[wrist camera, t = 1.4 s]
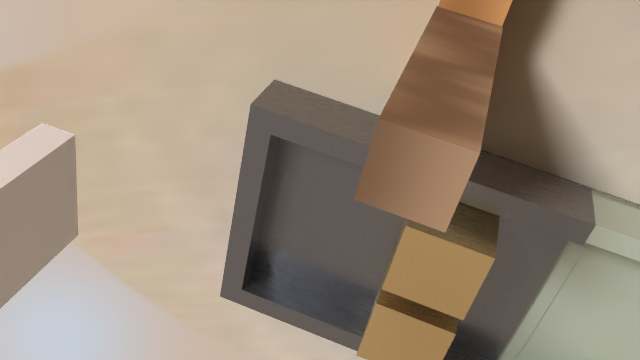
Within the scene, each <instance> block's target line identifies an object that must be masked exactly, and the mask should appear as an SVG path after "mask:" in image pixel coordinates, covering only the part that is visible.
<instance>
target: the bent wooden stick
mask: <svg viewBox="0 0 640 360" xmlns="http://www.w3.org/2000/svg"><path fill="white" fill-rule="evenodd" d="M512 1H513V0H440V3H439V6H437V7H436V9H435V11H434V13H433V15H432V17H431V19H430V21H429V23H428V25H427V27H426V28H425V30H424V32H423V34H422V36H421V38H420V40H419V42H418V44H417V46H416V48H415V50H414V52H413V53H412V55H411V57H410V59H409V61H408V63H407V65H406V67H405V69H404V71H403V73H402V75H401V77H400V79H399V80H398V82H397V84H396V86H395V88H394V90H393V92H392V94H391V96H390V98H389V100H388V102H387V104H386V106H385V107H384V109H383V111H382V113H381V115H380V117H379V119H378V123H377V126H376V129H375V132H374V136H373V139H372V142H371V145H370V149H369V152H368V155H367V159H366V162H365V165H364V168H363V172H362V175H361V178H360V181H359V185H358V188H357V191H356V194H355V198H354V200H357V201H360V202H362V203H365V204H368V205H371V206H373V207H376V208H379V209H382V210H384V211H387V212H390V213H393V214H395V215H398V216H401V217H404V218H406V219H409V220H412V221H414V222H417V223H420V224H423V225H425V226H428V227H431V228H434V229H436V230H439V231H442V232H445V233H446V230H447V228H448V226H449V223H450V221H451V219H452V216H453V214H454V212H455V210H456V207H457V205H458V203H459V200H460V198H461V196H462V194H463V191H464V189H465V187H466V184H467V182H468V180H469V178H470V175H471V173H472V171H473V168H474V166H475V164H476V162H477V159H478V157H479V155H480V151H481V146H482V140H483V135H484V130H485V124H486V119H487V113H488V108H489V102H490V97H491V91H492V86H493V81H494V75H495V70H496V64H497V59H498V53H499V48H500V42H501V37H502V32H503V27H502V25H503V23H504V20H505V18H506V15H507V13H508V11H509V8H510V6H511V3H512Z"/></svg>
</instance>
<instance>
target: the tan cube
mask: <svg viewBox="0 0 640 360" xmlns="http://www.w3.org/2000/svg"><path fill="white" fill-rule="evenodd" d="M393 254H394V253H393ZM393 254H392V257H393ZM392 257H391V260H392ZM391 260H390V262H389V265H388V268H387V270H386V273H385V275H384V278H383V281H382V283H381V286H380V289H379V291H378V294H377V297H376V299H375V302H374V305H373V308H372V310H371V313H370V316H369V319H368V322H367V325H366V328H365V331H364V334H363V337H362V340H361V343H360V346H359V349H358V352H357V356H360V357H362V358H365V359H367V360H443V358H444V357H445V355H446V353H447V351H448V349H449V347H450V345H451V343H452V341H453V339H454V337H455V335H456V332H457V326H458V320H459V319H458V318H456V317H453V316H450V315H448V314H445V313H443V312H440V311H437V310H435V309H432V308H430V307H427V306H424V305H422V304H419V303H417V302H414V301H411V300H409V299H406V298H403V297H401V296H398V295H396V294H393V293H390V292H388V291H385V290H383V289H382V287H383V284H384V281H385V278H386V275H387V272H388V269H389V266H390V263H391Z"/></svg>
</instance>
